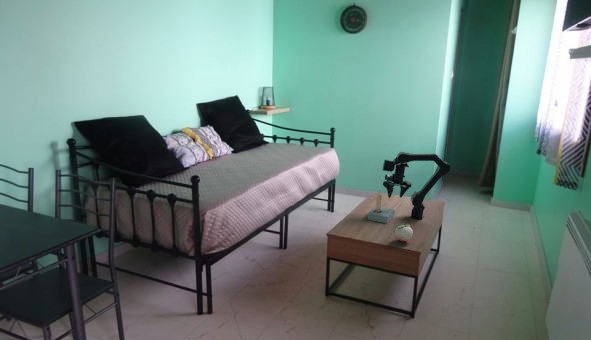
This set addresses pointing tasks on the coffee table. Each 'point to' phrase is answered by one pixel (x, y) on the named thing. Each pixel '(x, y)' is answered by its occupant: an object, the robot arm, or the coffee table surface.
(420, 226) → the coffee table surface
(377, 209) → the pin
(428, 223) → the coffee table surface
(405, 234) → the decorative fruit
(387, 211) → the hole block
